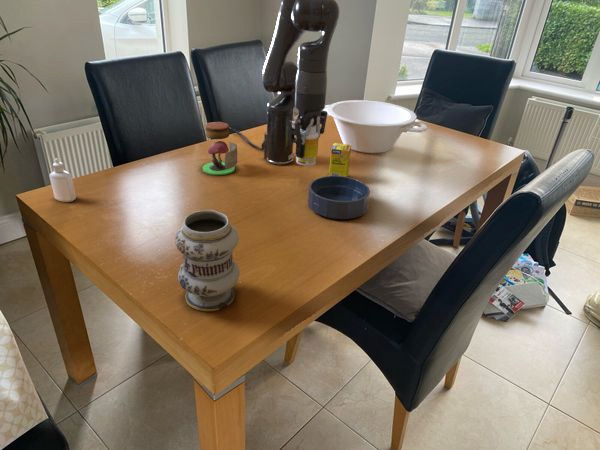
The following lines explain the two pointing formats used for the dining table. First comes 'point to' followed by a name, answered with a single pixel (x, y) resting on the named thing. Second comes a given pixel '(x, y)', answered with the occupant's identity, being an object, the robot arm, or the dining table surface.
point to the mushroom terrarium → (220, 150)
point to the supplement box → (339, 160)
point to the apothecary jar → (207, 260)
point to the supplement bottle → (310, 148)
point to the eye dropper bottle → (62, 183)
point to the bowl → (338, 197)
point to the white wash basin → (372, 124)
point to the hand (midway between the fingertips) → (306, 153)
